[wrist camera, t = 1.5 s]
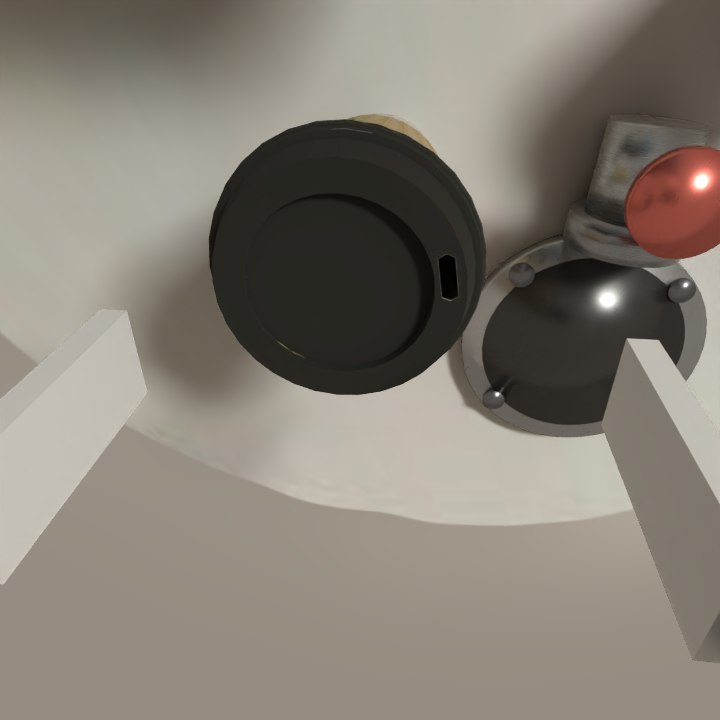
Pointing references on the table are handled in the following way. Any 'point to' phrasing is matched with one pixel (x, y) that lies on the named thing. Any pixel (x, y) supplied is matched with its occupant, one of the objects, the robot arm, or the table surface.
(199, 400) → the table surface
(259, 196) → the coffee cup
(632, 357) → the robot arm
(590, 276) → the metal device with knob
